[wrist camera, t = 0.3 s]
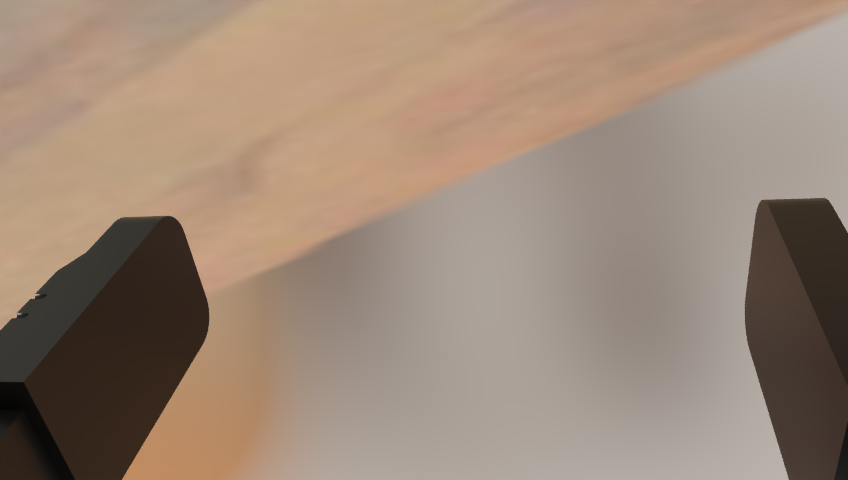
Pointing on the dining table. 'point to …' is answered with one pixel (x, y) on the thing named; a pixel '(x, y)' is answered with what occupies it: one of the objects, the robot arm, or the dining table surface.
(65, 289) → the robot arm
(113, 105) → the dining table surface
